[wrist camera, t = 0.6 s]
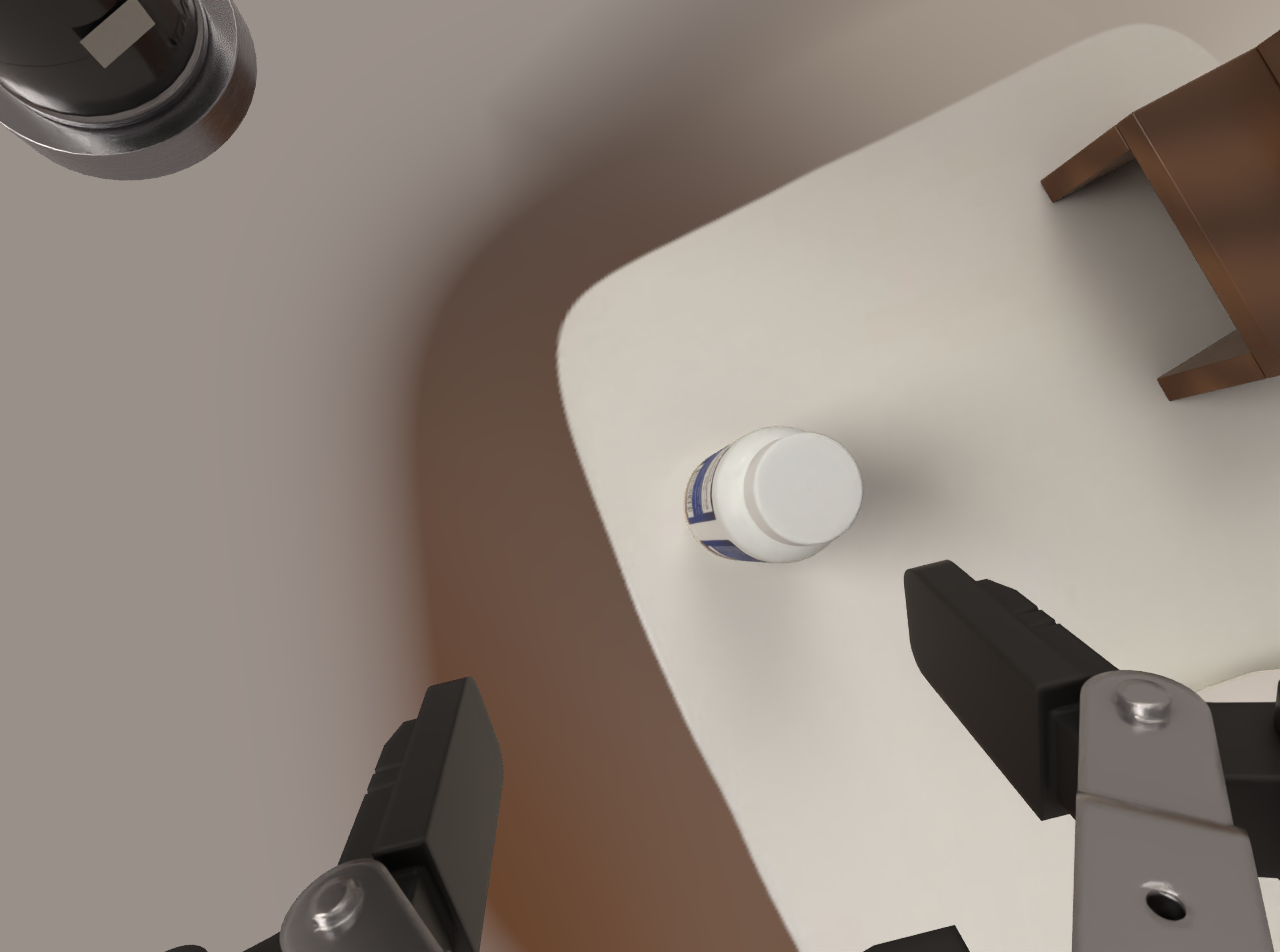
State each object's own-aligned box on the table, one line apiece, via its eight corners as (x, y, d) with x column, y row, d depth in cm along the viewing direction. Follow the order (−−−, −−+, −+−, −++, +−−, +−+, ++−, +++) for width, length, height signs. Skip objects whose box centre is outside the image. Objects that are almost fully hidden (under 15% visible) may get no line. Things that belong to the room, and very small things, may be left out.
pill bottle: (808, 519, 33) (912, 509, 24) (721, 581, 32) (793, 597, 23) (747, 429, 33) (826, 382, 24) (659, 488, 32) (704, 465, 23)
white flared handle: (1062, 696, 34) (1128, 716, 30) (1349, 613, 37) (1444, 621, 33) (1090, 805, 34) (1161, 839, 30) (1378, 713, 36) (1478, 733, 32)
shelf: (1039, 181, 37) (1172, 82, 29) (1159, 117, 38) (1316, 6, 30) (1169, 401, 36) (1339, 361, 29) (1285, 328, 38) (1477, 271, 30)
